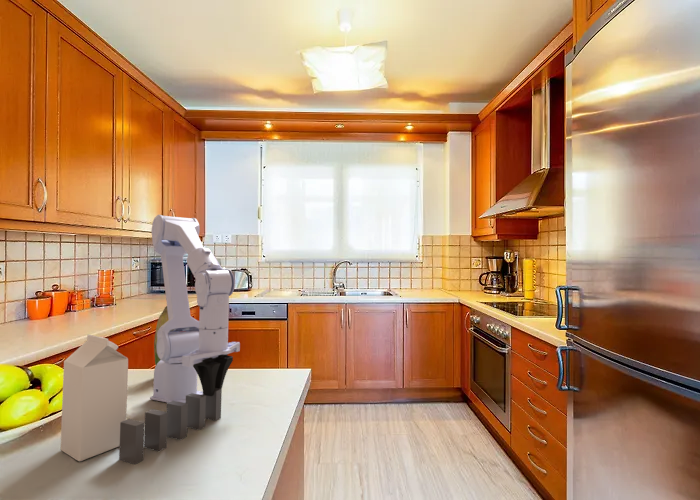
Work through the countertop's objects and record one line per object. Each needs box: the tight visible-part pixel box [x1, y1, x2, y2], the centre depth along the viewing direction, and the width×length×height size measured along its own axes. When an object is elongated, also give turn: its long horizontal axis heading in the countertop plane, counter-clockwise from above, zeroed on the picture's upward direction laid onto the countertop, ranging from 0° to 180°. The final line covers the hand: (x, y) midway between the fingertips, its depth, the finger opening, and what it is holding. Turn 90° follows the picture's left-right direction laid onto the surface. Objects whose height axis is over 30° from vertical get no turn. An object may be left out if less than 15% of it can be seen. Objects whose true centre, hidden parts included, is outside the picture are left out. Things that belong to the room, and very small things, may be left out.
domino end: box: [118, 418, 145, 465], centre depth 60 cm, size 4×2×6 cm, turn 67°
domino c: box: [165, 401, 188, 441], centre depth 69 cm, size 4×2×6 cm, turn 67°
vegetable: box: [153, 305, 175, 366], centre depth 104 cm, size 6×6×20 cm
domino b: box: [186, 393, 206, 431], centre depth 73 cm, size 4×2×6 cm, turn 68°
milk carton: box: [60, 334, 129, 462], centre depth 64 cm, size 7×7×19 cm
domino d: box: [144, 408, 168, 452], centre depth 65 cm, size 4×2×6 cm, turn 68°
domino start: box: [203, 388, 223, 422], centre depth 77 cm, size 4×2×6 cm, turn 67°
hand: (212, 393), depth 77 cm, fingers closed on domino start, 1 cm apart
